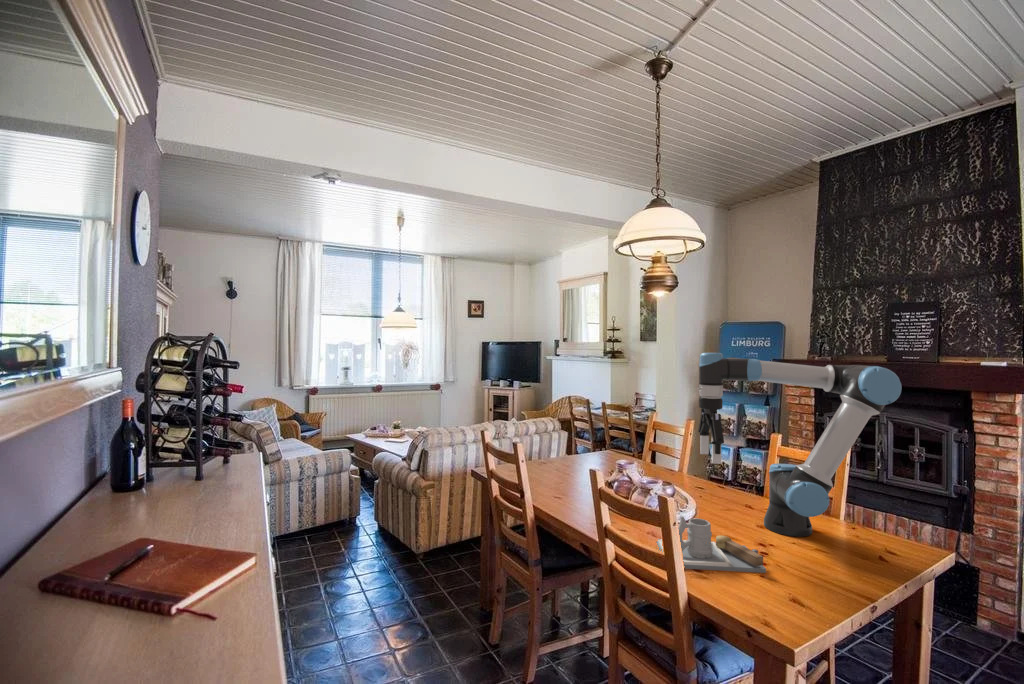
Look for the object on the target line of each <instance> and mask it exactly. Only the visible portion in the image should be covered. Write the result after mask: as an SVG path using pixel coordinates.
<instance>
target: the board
mask: <svg viewBox="0 0 1024 684" xmlns="http://www.w3.org/2000/svg"><path fill="white" fill-rule="evenodd" d="M662 539H663V538H662ZM662 539H661V538H658V539H657V541H655V544H656V543H657V545H658V547H659V550H660V551H661V549H662V552H663V546H662ZM682 540H683V542H685V541H687V540H688V539H682ZM742 546H744V547H746V548H748V547H747V546H746V545H742ZM711 547H712V549H713V552H712V555H711V557H710V558H705V559H702V558H697V557H693V556H691V555H689V554H688V552H687V548H685V549H684V550H683V551H682V553H683V561H684V566H685V569H686V570H707V571H725V572H741V573H758V574H759V573H761V574H762V573H764V574H765V573H767V568H766V566H764V564H763V565H760V566H755V565H753V564H752V563H750V562H748V561H746V560H744V559H742V558H740V557H739V556H737V555H735V554H733V553H731V552H729V551H728V550H726V549H722V548H719V547H717V546H716V541H711ZM659 550H658V551H659ZM751 550H752V551H753V552H755V553H757V554H759V550H758V549H751Z"/></svg>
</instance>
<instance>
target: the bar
mask: <svg viewBox="0 0 1024 684" xmlns="http://www.w3.org/2000/svg"><path fill="white" fill-rule="evenodd" d="M715 543H716V546H717V547H719V548H722V549H726V550H728V551H729V552H731V553H733V554H735V555H737V556H739V557H740V558H742V559H744V560H746V561H748V562H750V563H752V564H753V565H755V566H760V565H763V566H764V556H763V555H761V554H759V553H758V554H757V553H755V552H753V551H752V549H749V548H748V547H747V546H746V547H747V548H746V547H744V546H745V545H743V546H742V545H741V544H740V543H737V542H735V541H734V540H732V538H730V537H729V536H726V535H716V537H715Z"/></svg>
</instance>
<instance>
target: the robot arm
mask: <svg viewBox="0 0 1024 684" xmlns="http://www.w3.org/2000/svg"><path fill="white" fill-rule="evenodd" d="M698 368H699V369H698V372H699V375H698V376H699V377H698V378H699V379H698V383H699V387H698V386H697V391H698V395H699V396H700V397H699V398H698V407H699V408H700V418H699V425H698V431H697V432H698V433H699V438H700V439H699V443H700V444H699V445H700V446H699V448H700V450H699V451H700V452H699V454H700V455H709V454H710V453H709V452H710V444H711V463H712V464H718V465H719V464H722V444H725V439H724V433H723V432H724V431H723V426H722V415H721V413H718V410H722V409H723V400H724V399H723V398H722V397H723V396H724V394H723V393H724V385H723V382H724V381H736V382H737V381H738V382H740V381H741V382H742V381H743V382H745V381H746V382H754V381H755V382H764V383H773V384H774V383H775V384H780V385H781V384H782V385H790V386H801V387H808V388H815V389H823V391H824V392H826V393H834V394H838V395H839V397H840V400H841V403H840V405H839V407H838V408H837V410H836V411H835V413H834V415H833V416H832V418H831V419H830V420H829V423H828V424H827V426H826V428H825V430H824V431H823V432H822V433H821V435H820V437H819V438H818V440H817V442H816V444H814V446H813V448H812V450H811V451H810V452H809V454H808V456H807V458H806V459H805V461H804V462H803V463H801V464H791V463H772V464H770V466H769V471H768V474H769V476H768V477H769V486H768V487H769V499H768V501H769V505H768V507H767V510H766V512H765V514H764V517H763V526H764V527H765V528H766V529H767V530H769V531H771V532H774V533H777V534H780V535H785V536H789V537H800V538H801V537H809V536H811V535H812V534H813V525H812V522H811V519H810V518H812V517H817V516H820V515H823V514H824V513H825V511H827V510H828V508H829V505H830V496H829V494H830V492H831V490H832V489H833V487H834V485H833V484H834V483H833V481H832V478H833V476H834V475H835V473H836V472H837V470H838V469H839V467H840V466H841V464H842V462H843V461H844V460H845V458H846V456H847V455H848V453H849V451H850V450H851V449H852V447H853V445H854V444H855V442H856V440H857V439H858V437H859V436H860V434H861V433H862V431H863V429H864V428H865V426H866V425H867V423H868V421H869V420H870V419H871V417H872V416H876V415H880V414H881V412H882V411H883V410H884V408H885V406H886V405H890V404H892V403H894V402H895V401H897V400H898V399H899V398H900V396H901V394H902V387H903V386H902V382H901V381H900V380H901V379H900V378H899V376H898V374H896V373H895V372H894V371H892V370H891V369H888V368H886V367H882V366H878V365H863V364H862V365H861V364H851V365H846V364H845V365H837V364H836V365H835V364H827V365H826V366H818V365H817V366H816V365H808V364H800V363H799V364H797V363H788V362H778V361H770V360H769V361H768V360H760V359H758V358H740V357H735V356H734V357H733V356H730V357H727V358H724V354H723V353H722V352H702V353H701V354H700V355H699V364H698ZM709 431H710V432H709ZM710 433H711V435H710ZM710 436H711V438H712V441H711V443H710V439H709V438H710Z"/></svg>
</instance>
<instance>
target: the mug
mask: <svg viewBox="0 0 1024 684" xmlns="http://www.w3.org/2000/svg"><path fill="white" fill-rule="evenodd" d="M679 520H680V521H679V523H678V527H677V529H679V535H680V542H681V548H682V551H683V550H684V549H685V548H687V552H688V554H689V555H691V556H693V557H697V558H702V559H705V558H710V557H711V555H712V552H713V549H712V547H711V542H712V537H713V535H712V534H713V533H712V531H711V530H712V529H711V528H712V527H711V522H709V521H708V520H706V519H703V518H697V517H696V518H689V520H688V523H687V522H686V521H687V520H686V519H685V517H684V516H682V515H680V519H679ZM686 529H687V539H686V540H687V541H685V542H683V540H684V539H683V533H684V532H685V531H686Z"/></svg>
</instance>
